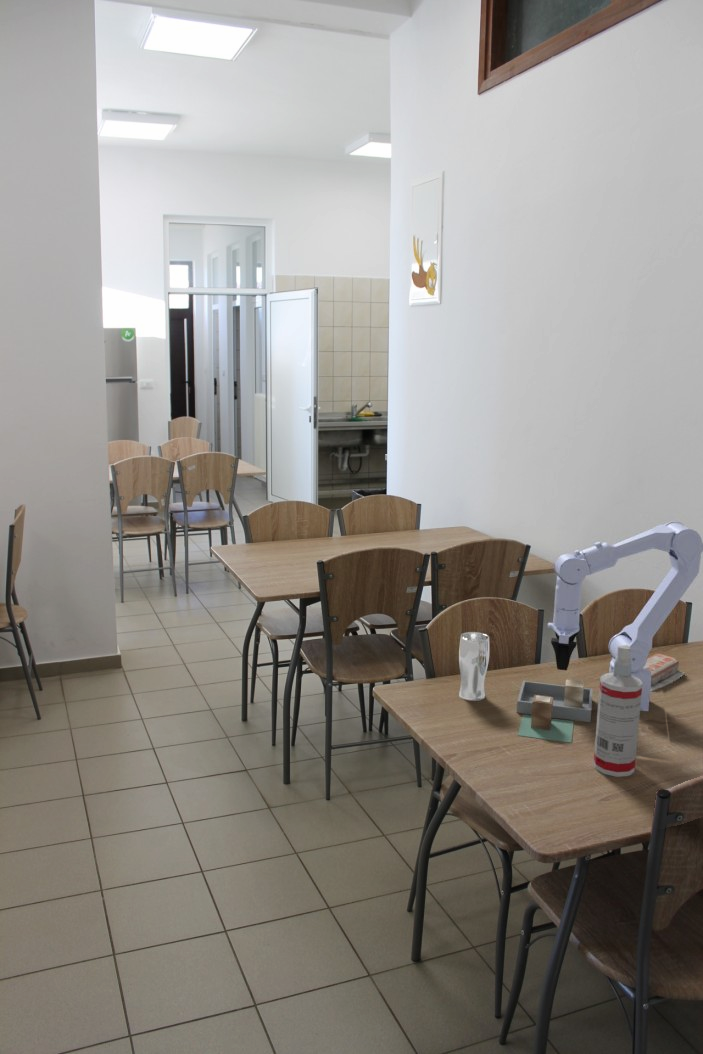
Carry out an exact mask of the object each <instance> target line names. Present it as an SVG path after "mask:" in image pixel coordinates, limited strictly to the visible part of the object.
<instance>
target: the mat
mask: <svg viewBox="0 0 703 1054" xmlns="http://www.w3.org/2000/svg"><path fill="white" fill-rule="evenodd" d="M531 718H532V715H530V714H522V717H521V721H520V725H519V728H518V729H519V730H518V732H517V737H525V738H530V739H531V738H532V739H540V740H546V741H552V742H553V741H555V742H561V743H568V744H572V741H573V739H572V738H573V731H574V721H575V720H568V719H560V718H552V722H551V727H550V730H543V729H536V728H531Z"/></svg>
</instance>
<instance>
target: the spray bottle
mask: <svg viewBox="0 0 703 1054" xmlns="http://www.w3.org/2000/svg"><path fill="white" fill-rule="evenodd" d="M599 679H600V680H599V690H598V702H597V703H598V704H597V713H596V715H597V716H596V726H595V727H596V728H595V740H594V752H593V754H594V755H593V765H594V768H595V770H597V771H598V772H600V773H602V775H603V774H604V775H606V776H612V777H617V778H619V777H629V776H631V775H632V774H633V773H635V772H636V771H635V768H636V760H637V758H636V757H637V748H638V747H637V745H638V739H639V738H638V737H639V725H640V713H641V710H640V705H641V694H642V682H641V680H640V679H639V678H637V677H634V676H632V675H631V661H630V646H628V645H622V646H618V651H617V657H616V659H615V661H614V667H613V672H612V673H609V672H607V673H604V674H602V675H601V676H600V678H599Z"/></svg>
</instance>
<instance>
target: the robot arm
mask: <svg viewBox="0 0 703 1054" xmlns="http://www.w3.org/2000/svg"><path fill="white" fill-rule="evenodd" d="M654 549H655V550H659V551H663V552H666V553H668V557H669V561H670V564H671V568H670V570H669V571H668V573H667V574H666V575H665V577H664V578H663V580H662V581H661V582H660V584H659V585H658V587H657V588H656V589H655V591H654V592H653V594H652V595H651V597H650V598H649V599H648V600H647V603H645V605H644V606H643V608H642V609H641V611H640V612H639V614H637V616H636V618H635V619H634V621H633V622H632V623H630V624H628V625H626V626H623V628H622V629H621V631H620V632H619V633H616V634H615V635H613V636H612V637H611V638H610V640H609V642H608V651H609V654H610V655H611V656H612V658H611V660H610V661H609V670H608V671H609V672H608V673H612V672H613V667H614V661H615V659H616V657H617V651H618V646H622V645H628V646H630V661H631V675H632V676H634V677H637V678H639V679H640V680H641V682H642V694H641V705H640V712H641V711H642V712H649V708H650V707H649V706H650V702H651V698H652V696H651V691H650V688H651V670H649V669H644V668H643V667H644V666H645V664H646V662H647V658H648V656H649V653H651V650H652V649H653V638H654V636H655V635H656V634H657V632H658V631H659V629H660V628H661V626H662V625H663V623H664V622H665V621H666V619H667V618H668V617H669V615H670V614H671V612H672V611H673V609H674V608H676V605H677V604H678V603H679V601H680V600H681V598H682V597H683V596H684V594H685V593H686V592H687V590H688V589H689V587H690V586H691V584H692V583H693V582H694V580H695V579H696V578H697V577H698V574H699V573H700V567H701V566H700V565H701V559H702V552H703V539H702V537H701V535H700V534H699V533H698V531H696V530H695V529H692V528H690V527H688V526H685V524H684V523H682V522H680V521H678V520H677V521H676V520H675V521H674V520H672V521H669V522H667V523H665V524H663V523H662V524H658V525H657V526H654V527H652V528H651V529H649V530H645V531H643V532H641V533H639V534H636V535H634V536H632V537H630V538H627V539H623V540H622V541H619V542H616V543H615V544H611V543H609V542H606V541H605V542H601V541H597V542H594V544H593V546H589V547H588V548H584V549H582V550H579V549H576V550H574V551H573V552H574V553H564V554H561V555H560V556H559V557H558V558H557V560H555V563H554V564H553V570H554V572H555V573H556V583H555V584H556V585H555V591H554V603H553V604H554V606H553V608H554V609H553V620H552V621H553V622H548V623H547V628H549V629H552V630H553V632H554V634H555V637H551V639H550V644H551V646H552V649H553V650H554V651H553V652H554V656H555V663H556V669H557V670H559V671H560V670H561V671H567V670H568V668H569V665H570V661H571V657H572V654H573V652H574V650H575V648H576V647H577V645H578V642H577V641H575V638H576V637H577V636H578V634H579V631H580V628H581V627H580V617H581V616H580V614H581V601H582V582H583V581H584V579H585V578H586V577H587V576H591V575H593V574H596V573H598V572H602V571H605V570H607V569H610V568H613V567H615V566H616V564H617V562H618V561H619V559H622V558H626V557H628V556H629V557H631V556H632V555H636V554H639V553H643V552H646V551H648V550H649V551H650V550H654Z"/></svg>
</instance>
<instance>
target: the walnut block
mask: <svg viewBox="0 0 703 1054" xmlns="http://www.w3.org/2000/svg"><path fill="white" fill-rule="evenodd" d="M552 708H553V697H548V696H541V695H534V698H533V703H532V715H531V716H532V718H531V728H536V729H543V730H550V727H551V722H552V719H553V717H552Z"/></svg>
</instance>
